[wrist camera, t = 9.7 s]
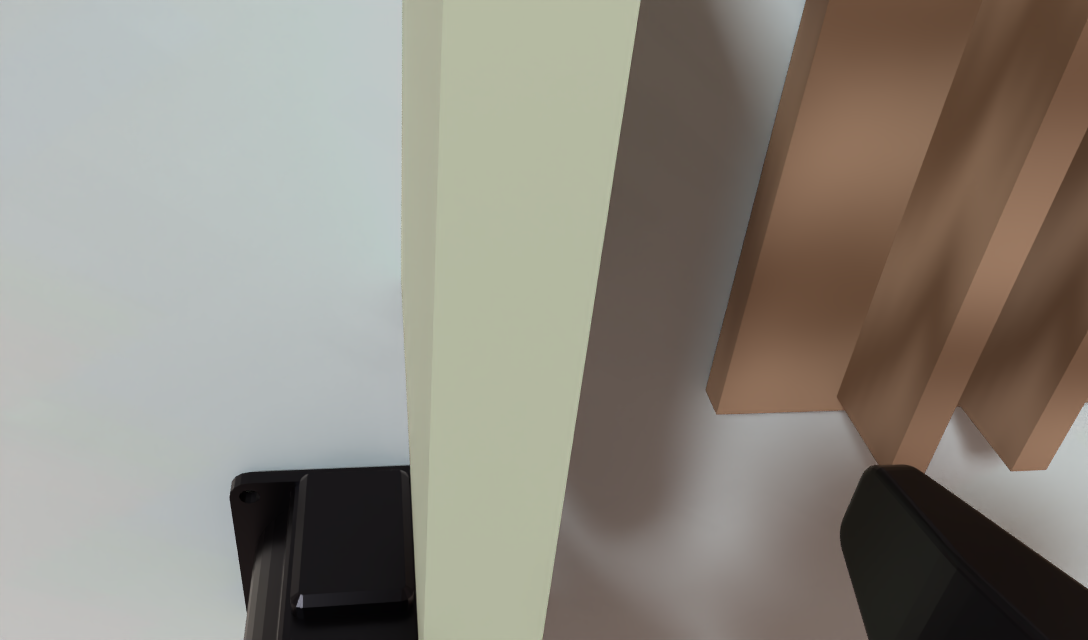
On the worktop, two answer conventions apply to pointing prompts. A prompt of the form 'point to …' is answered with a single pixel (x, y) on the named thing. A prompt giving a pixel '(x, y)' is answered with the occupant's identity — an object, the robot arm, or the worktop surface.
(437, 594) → the green sheet
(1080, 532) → the worktop surface
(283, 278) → the worktop surface
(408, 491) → the robot arm
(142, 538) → the worktop surface
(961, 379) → the walnut rack
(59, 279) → the worktop surface
